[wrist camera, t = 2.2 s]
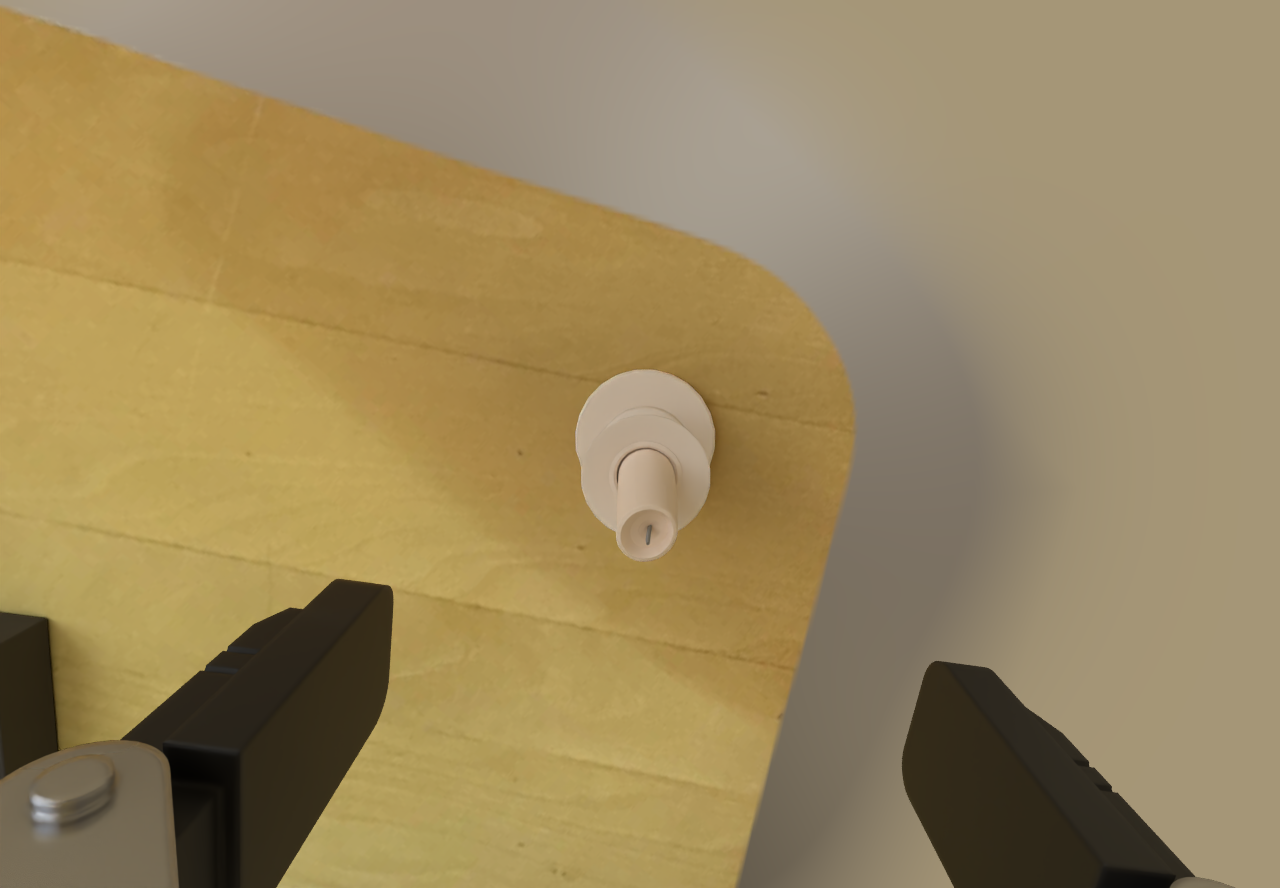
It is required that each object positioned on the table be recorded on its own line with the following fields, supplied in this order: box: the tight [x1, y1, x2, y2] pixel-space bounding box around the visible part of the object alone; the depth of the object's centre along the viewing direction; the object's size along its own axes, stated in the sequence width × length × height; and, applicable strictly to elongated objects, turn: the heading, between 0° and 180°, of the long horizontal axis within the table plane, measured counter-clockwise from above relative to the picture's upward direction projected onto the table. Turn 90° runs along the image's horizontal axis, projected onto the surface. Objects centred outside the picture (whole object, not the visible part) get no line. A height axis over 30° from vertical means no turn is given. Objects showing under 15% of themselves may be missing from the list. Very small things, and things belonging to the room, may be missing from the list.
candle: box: [575, 369, 715, 562], centre depth 20 cm, size 5×5×10 cm
